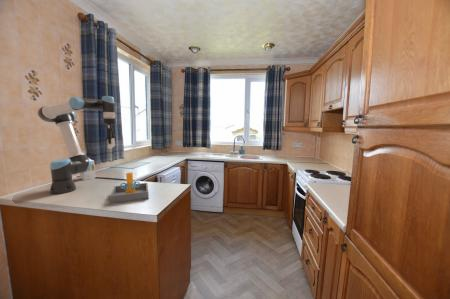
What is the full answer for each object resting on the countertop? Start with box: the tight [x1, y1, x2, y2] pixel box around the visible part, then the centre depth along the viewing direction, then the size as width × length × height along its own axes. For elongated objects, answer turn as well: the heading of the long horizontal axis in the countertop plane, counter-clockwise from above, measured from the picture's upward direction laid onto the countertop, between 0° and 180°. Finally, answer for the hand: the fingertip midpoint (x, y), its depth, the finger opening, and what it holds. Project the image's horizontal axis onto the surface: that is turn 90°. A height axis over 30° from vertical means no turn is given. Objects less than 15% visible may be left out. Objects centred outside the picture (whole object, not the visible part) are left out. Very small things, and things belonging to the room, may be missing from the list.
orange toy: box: [119, 171, 141, 194], centre depth 137 cm, size 12×10×15 cm
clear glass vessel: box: [79, 159, 96, 181], centre depth 184 cm, size 10×9×17 cm
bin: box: [109, 182, 150, 205], centre depth 138 cm, size 22×22×5 cm
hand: (111, 147), depth 148 cm, fingers open, 13 cm apart
